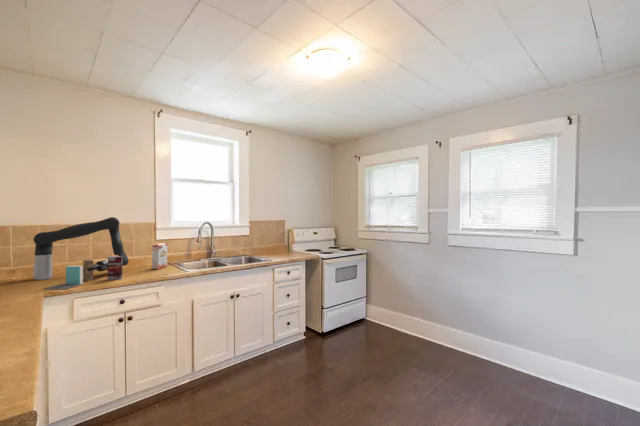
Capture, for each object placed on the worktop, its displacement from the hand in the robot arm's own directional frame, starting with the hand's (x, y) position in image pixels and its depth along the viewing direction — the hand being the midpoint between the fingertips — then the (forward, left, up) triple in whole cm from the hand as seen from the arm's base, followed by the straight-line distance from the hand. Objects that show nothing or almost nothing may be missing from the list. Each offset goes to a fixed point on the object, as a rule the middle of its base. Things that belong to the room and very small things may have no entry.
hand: (84, 269), depth 207 cm
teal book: (0, -8, -8) cm, 12 cm away
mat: (0, -16, -8) cm, 18 cm away
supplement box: (+15, +9, -8) cm, 19 cm away
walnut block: (0, +3, -8) cm, 8 cm away
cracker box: (+21, +52, -8) cm, 56 cm away
